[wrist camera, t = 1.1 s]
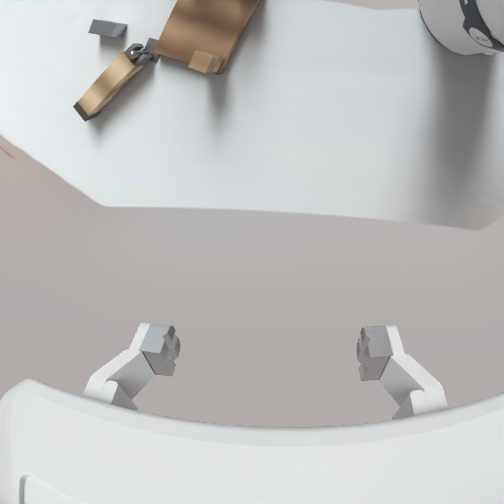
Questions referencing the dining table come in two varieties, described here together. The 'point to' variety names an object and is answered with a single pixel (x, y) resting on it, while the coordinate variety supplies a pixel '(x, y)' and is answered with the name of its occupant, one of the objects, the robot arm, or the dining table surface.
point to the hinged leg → (110, 83)
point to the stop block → (107, 28)
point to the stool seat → (205, 32)
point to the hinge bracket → (145, 51)
